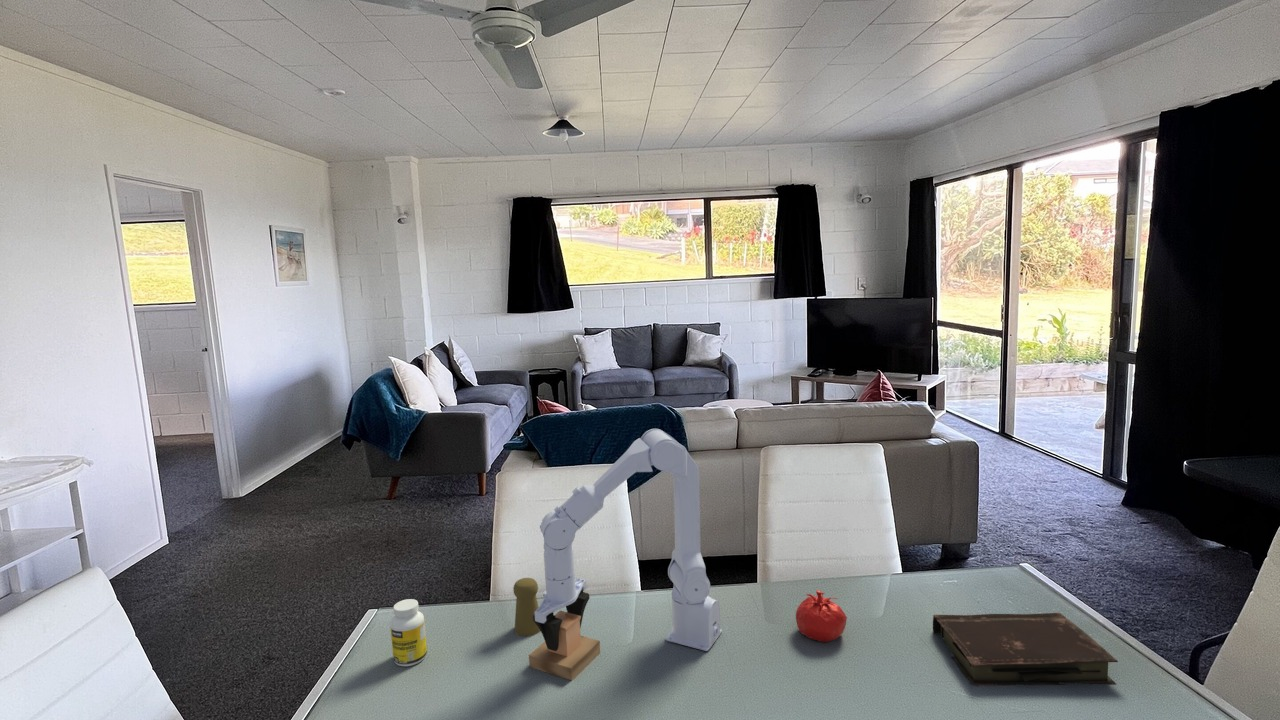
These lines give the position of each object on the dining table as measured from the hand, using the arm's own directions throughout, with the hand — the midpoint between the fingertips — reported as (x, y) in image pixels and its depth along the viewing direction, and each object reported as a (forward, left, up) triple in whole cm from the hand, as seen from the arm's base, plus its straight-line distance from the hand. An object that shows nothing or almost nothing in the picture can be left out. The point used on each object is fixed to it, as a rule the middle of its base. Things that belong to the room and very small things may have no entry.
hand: (564, 638), depth 129 cm
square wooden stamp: (0, 0, -2) cm, 2 cm away
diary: (-78, -37, -5) cm, 87 cm away
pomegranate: (-43, -30, -5) cm, 53 cm away
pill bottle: (+29, +13, -5) cm, 32 cm away
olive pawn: (+14, -6, -5) cm, 16 cm away
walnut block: (0, 0, -4) cm, 4 cm away
